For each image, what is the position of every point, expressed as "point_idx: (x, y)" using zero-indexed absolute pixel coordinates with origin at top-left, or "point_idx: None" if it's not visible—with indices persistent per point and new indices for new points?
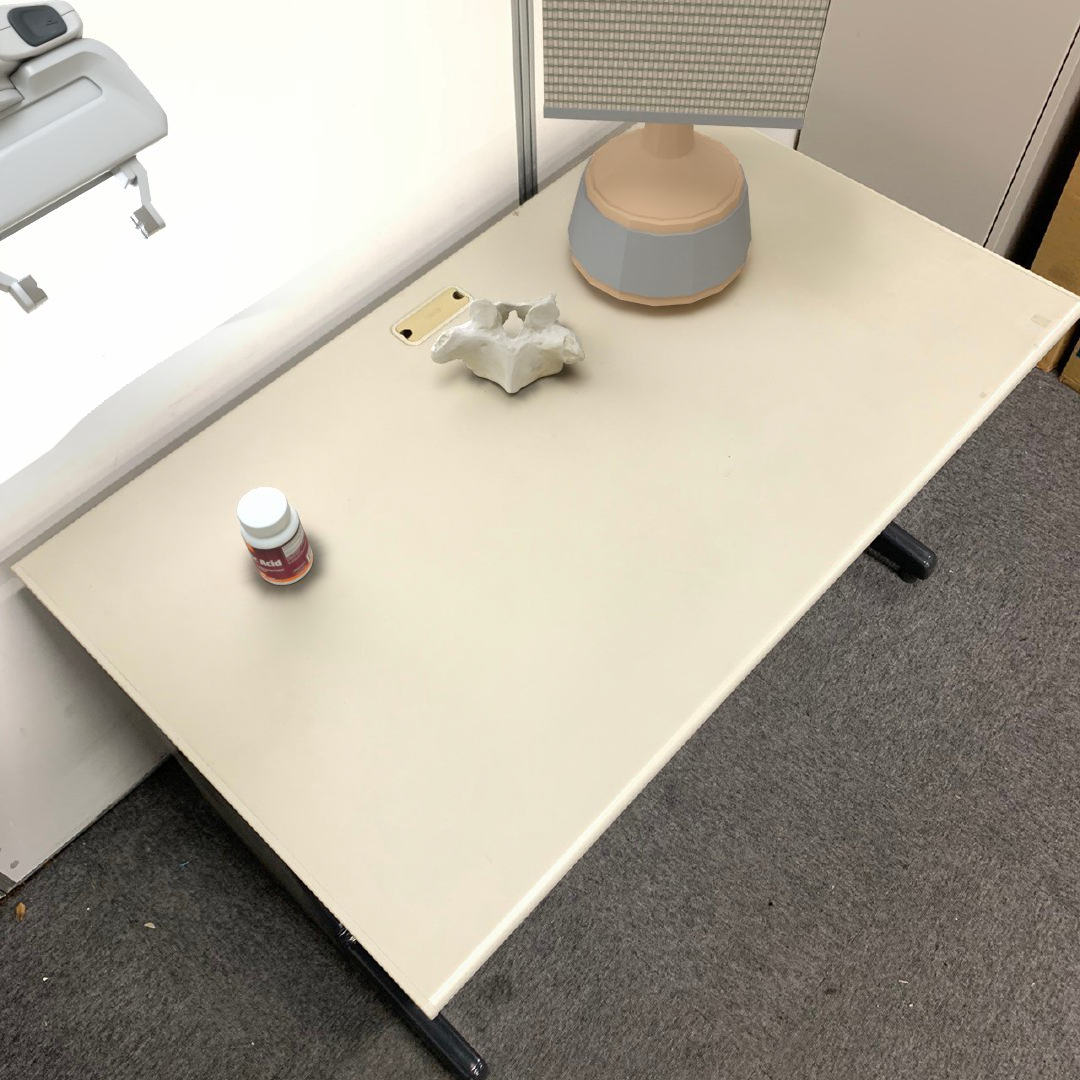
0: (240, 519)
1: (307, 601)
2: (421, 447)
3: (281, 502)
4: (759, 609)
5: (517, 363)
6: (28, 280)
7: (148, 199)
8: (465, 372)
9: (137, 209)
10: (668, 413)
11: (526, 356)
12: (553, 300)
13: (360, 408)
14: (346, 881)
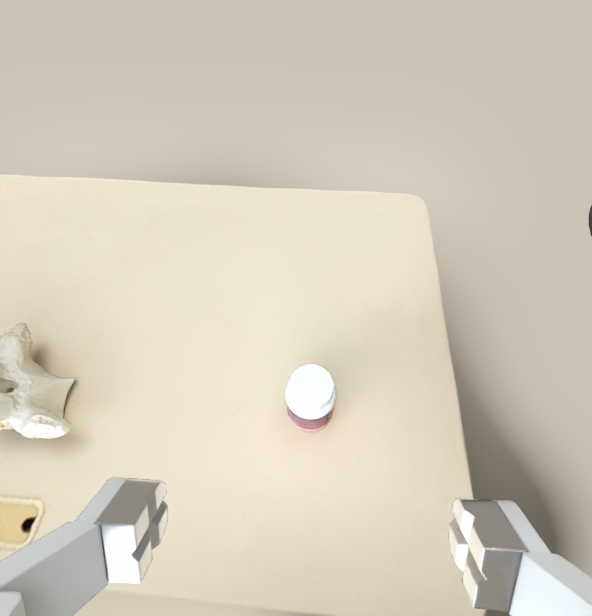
0: (333, 389)
1: None
2: (157, 405)
3: (296, 375)
4: (173, 191)
5: (44, 376)
6: (493, 537)
7: (68, 527)
8: None
9: (117, 522)
10: (52, 286)
11: (34, 372)
12: None
13: None
14: (421, 243)
